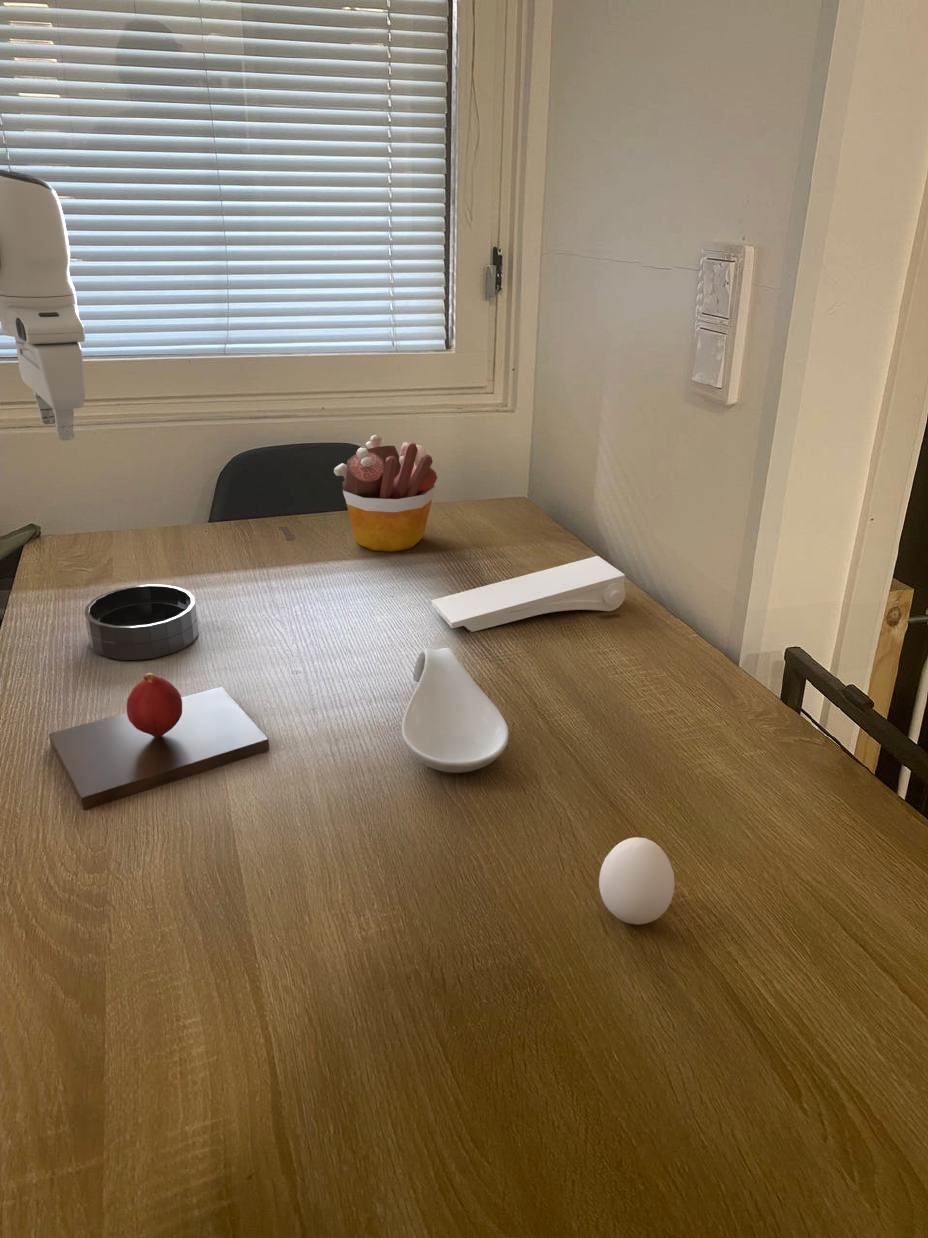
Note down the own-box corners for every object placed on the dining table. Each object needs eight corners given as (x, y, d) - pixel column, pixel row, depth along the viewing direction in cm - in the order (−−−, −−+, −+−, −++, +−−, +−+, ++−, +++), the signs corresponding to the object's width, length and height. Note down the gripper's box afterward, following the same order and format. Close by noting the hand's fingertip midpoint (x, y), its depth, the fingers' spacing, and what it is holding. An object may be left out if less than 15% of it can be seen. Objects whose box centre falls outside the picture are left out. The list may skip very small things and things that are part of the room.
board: (83, 810, 91) (81, 798, 90) (50, 745, 101) (48, 733, 101) (269, 750, 102) (268, 739, 101) (222, 696, 112) (221, 686, 111)
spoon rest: (518, 783, 97) (522, 726, 94) (409, 794, 95) (409, 736, 92) (473, 677, 118) (474, 627, 115) (383, 684, 116) (382, 633, 113)
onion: (142, 720, 104) (133, 658, 100) (192, 722, 104) (185, 660, 100) (123, 749, 98) (113, 684, 95) (176, 751, 98) (167, 686, 95)
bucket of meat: (326, 531, 166) (321, 422, 158) (407, 519, 174) (407, 415, 165) (368, 568, 150) (366, 450, 142) (456, 553, 158) (459, 440, 149)
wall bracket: (456, 667, 132) (625, 618, 140) (455, 630, 127) (630, 581, 135) (431, 624, 138) (593, 580, 146) (430, 588, 134) (597, 543, 142)
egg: (670, 947, 76) (682, 874, 73) (593, 936, 77) (602, 863, 74) (668, 895, 82) (679, 825, 79) (597, 885, 83) (605, 815, 80)
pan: (107, 671, 117) (101, 637, 115) (78, 630, 127) (72, 597, 125) (213, 645, 124) (210, 612, 122) (178, 608, 135) (174, 577, 133)
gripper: (-4, 309, 117) (15, 416, 123) (28, 330, 102) (48, 452, 108) (48, 307, 120) (64, 412, 126) (87, 328, 105) (103, 446, 111)
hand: (57, 430), depth 117 cm, fingers open, 8 cm apart
